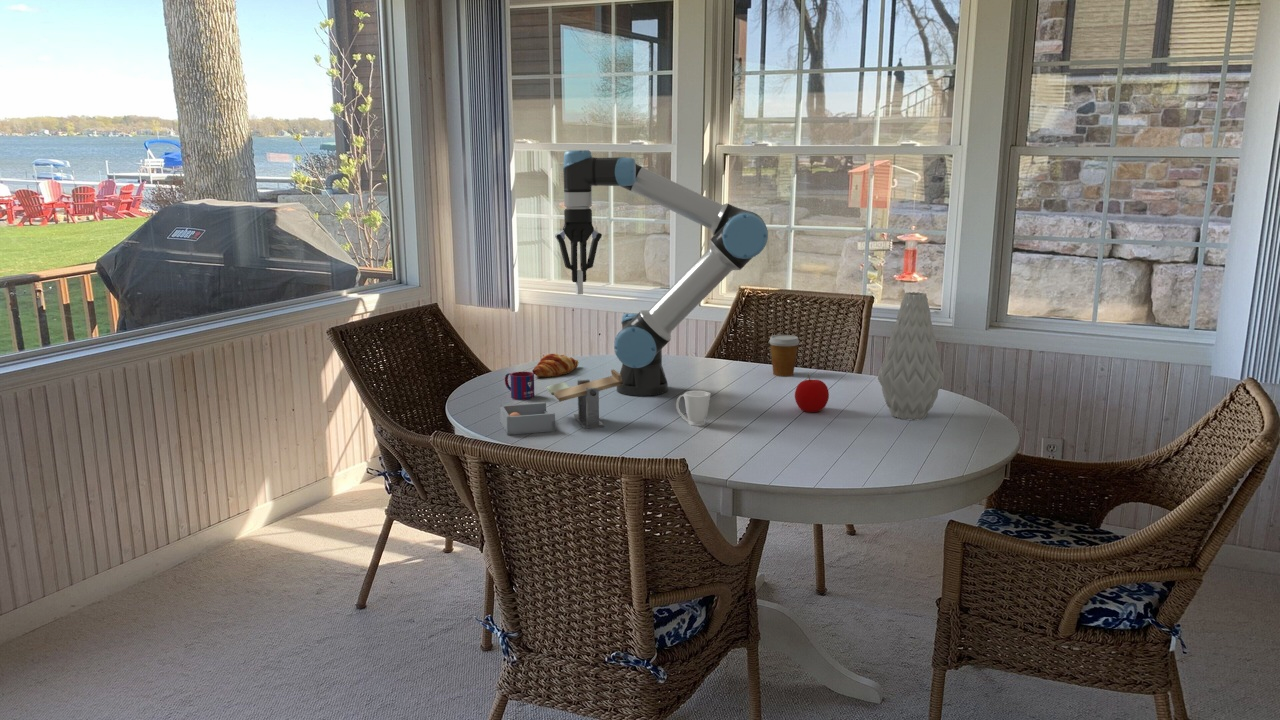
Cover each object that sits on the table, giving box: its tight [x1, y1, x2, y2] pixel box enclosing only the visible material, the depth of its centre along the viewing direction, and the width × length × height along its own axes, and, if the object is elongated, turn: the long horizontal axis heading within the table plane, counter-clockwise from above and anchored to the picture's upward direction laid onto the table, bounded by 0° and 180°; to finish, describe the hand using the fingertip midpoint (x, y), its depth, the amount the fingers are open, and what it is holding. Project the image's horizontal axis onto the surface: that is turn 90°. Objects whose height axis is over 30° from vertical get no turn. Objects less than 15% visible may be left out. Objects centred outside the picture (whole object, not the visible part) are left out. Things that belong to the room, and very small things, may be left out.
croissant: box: [531, 353, 579, 378], centre depth 306 cm, size 21×10×8 cm, turn 145°
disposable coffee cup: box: [768, 334, 800, 377], centre depth 302 cm, size 10×10×12 cm
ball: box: [509, 412, 521, 416], centre depth 243 cm, size 4×4×4 cm
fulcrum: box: [573, 379, 605, 429], centre depth 248 cm, size 5×12×10 cm, turn 17°
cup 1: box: [504, 371, 535, 401], centre depth 275 cm, size 7×10×7 cm
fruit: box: [794, 374, 830, 413], centre depth 258 cm, size 9×9×10 cm
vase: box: [877, 291, 945, 420], centre depth 250 cm, size 17×17×33 cm
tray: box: [499, 401, 556, 436], centre depth 244 cm, size 12×12×4 cm
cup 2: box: [675, 390, 712, 427], centre depth 247 cm, size 7×10×8 cm
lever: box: [545, 368, 623, 402], centre depth 250 cm, size 18×14×3 cm
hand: (579, 293), depth 265 cm, fingers closed
